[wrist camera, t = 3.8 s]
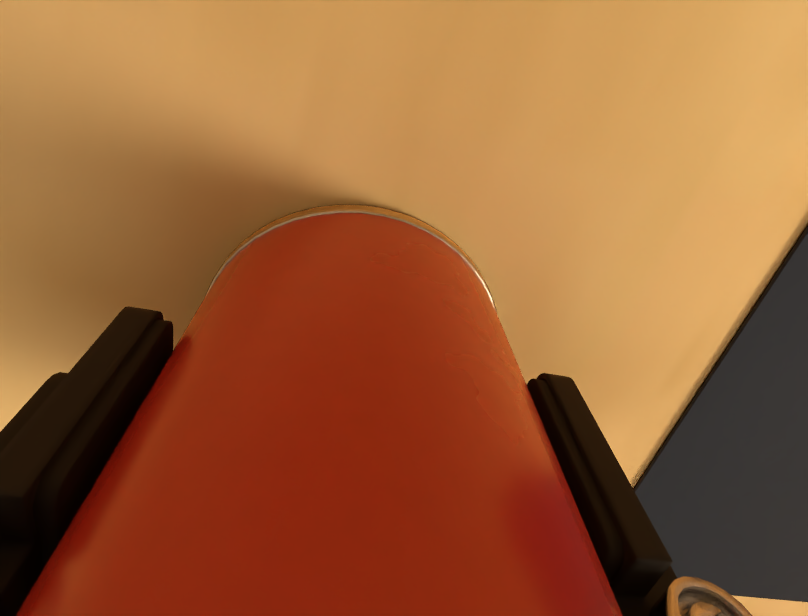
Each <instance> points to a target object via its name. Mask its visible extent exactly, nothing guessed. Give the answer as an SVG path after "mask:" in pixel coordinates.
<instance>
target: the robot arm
mask: <svg viewBox="0 0 808 616" xmlns="http://www.w3.org/2000/svg"><path fill="white" fill-rule="evenodd" d="M172 352H173V324H172V322H171V321H165V320H163V315H162V313H161V312H159V311H153V310H147V309H141V308H134V307H125V308H124V309H123V310H122V311H121V312H120V313H119V314H118V316H117V317H116V318H115V319H114V320H113V321H112V323H111V324H110V325H109V326H108V327H107V328H106V330H105V331H104V332H103V333H102V334H101V335H100V337H99V338H98V339H97V340H96V341H95V342H94V344H93V345H92V346H91V347H90V348H89V350H88V351H87V352H86V353H85V354H84V355H83V357H82V358H81V359H80V360H79V361H78V362H77V364H76V365H75V366H74V367H73V368H72V369H71V371H70V372H69V373H62V372H59V373H56V374H54V375H52V376H51V377H50V378H49V379H48V380H47V381H46V382H45V383H44V384H43V385H42V386H41V387H40V388H39V390H38V391H37V392H36V393H35V394H34V395H33V396H32V397H31V399H30V400H29V401H28V402H27V403H26V404H25V405H24V406H23V407H22V409H21V410H20V411H19V412H18V413H17V414H16V415H15V416H14V417H13V419H12V420H11V421H10V422H9V423H8V424H7V425H6V426H5V428H4V429H3V430H2V431H1V432H0V616H16V614H17V613H18V611H19V609H20V607H21V606H22V604H23V602H24V601H25V599H26V597H27V596H28V594H29V592H30V591H31V589H32V587H33V586H34V584H35V582H36V581H37V579H38V577H39V576H40V574H41V572H42V571H43V569H44V567H45V566H46V564H47V562H48V560H49V559H50V557H51V555H52V554H53V552H54V550H55V549H56V547H57V545H58V544H59V542H60V540H61V539H62V537H63V535H64V534H65V532H66V530H67V529H68V527H69V525H70V524H71V522H72V520H73V518H74V517H75V515H76V513H77V512H78V510H79V508H80V507H81V505H82V503H83V502H84V500H85V498H86V497H87V495H88V493H89V492H90V490H91V488H92V487H93V485H94V483H95V482H96V480H97V478H98V477H99V475H100V473H101V471H102V470H103V468H104V466H105V465H106V463H107V461H108V460H109V458H110V456H111V455H112V453H113V451H114V450H115V448H116V446H117V445H118V443H119V441H120V440H121V438H122V436H123V435H124V433H125V431H126V430H127V428H128V426H129V424H130V423H131V421H132V419H133V418H134V416H135V414H136V413H137V411H138V409H139V408H140V406H141V404H142V403H143V401H144V399H145V398H146V396H147V394H148V393H149V391H150V389H151V388H152V386H153V384H154V383H155V381H156V379H157V377H158V376H159V374H160V372H161V371H162V369H163V367H164V366H165V364H166V362H167V361H168V359H169V357H170V356H171V354H172ZM527 388H528V390H529V393H530V395H531V397H532V400H533V402H534V405H535V407H536V409H537V412H538V414H539V417H540V419H541V421H542V424H543V426H544V428H545V431H546V433H547V436H548V438H549V440H550V443H551V445H552V448H553V450H554V452H555V455H556V457H557V460H558V462H559V464H560V467H561V469H562V472H563V474H564V476H565V479H566V481H567V484H568V486H569V488H570V491H571V493H572V496H573V498H574V500H575V503H576V505H577V508H578V510H579V512H580V515H581V517H582V520H583V522H584V524H585V527H586V529H587V532H588V534H589V536H590V539H591V541H592V544H593V546H594V548H595V551H596V553H597V556H598V558H599V560H600V563H601V565H602V568H603V570H604V572H605V575H606V577H607V579H608V582H609V584H610V587H611V589H612V591H613V594H614V596H615V599H616V601H617V603H618V606H619V608H620V611H621V613H622V615H623V616H752V615H751V614H750V613H749V612H748V610H747V609H746V608H745V607H744V606H743V605H742V604H741V603H740V602H739V601H737V600H736V599H735V598H734V597H733V596H731V595H730V594H729V593H728V592H726V591H725V590H723V589H721V588H720V587H718V586H716V585H715V584H713V583H711V582H708V581H706V580H703V579H700V578H697V577H686V576H684V577H681V578H678V579H677V577H676V575H675V573H674V571H673V569H672V567H671V566H670V565H671V564H672V563H673V561H672V559H671V557H670V555H669V554H668V552H667V550H666V548H665V546H664V545H663V543H662V541H661V539H660V537H659V535H658V534H657V532H656V530H655V528H654V526H653V525H652V523H651V521H650V519H649V517H648V515H647V514H646V512H645V510H644V508H643V506H642V505H641V503H640V501H639V499H638V497H637V495H636V494H635V492H634V490H633V488H632V486H631V485H630V483H629V481H628V479H627V477H626V475H625V474H624V472H623V470H622V468H621V466H620V465H619V463H618V461H617V459H616V457H615V455H614V454H613V452H612V450H611V448H610V446H609V445H608V443H607V441H606V439H605V437H604V435H603V434H602V432H601V430H600V428H599V426H598V425H597V423H596V421H595V419H594V417H593V415H592V414H591V412H590V410H589V408H588V406H587V405H586V403H585V401H584V399H583V397H582V396H581V394H580V392H579V390H578V388H577V386H576V385H575V383H574V381H573V380H572V379H571V378H569V377H565V376H559V375H553V374H546V373H542V374H540V375H539V376H538V378H537V379H531V380H530V381H529V382H528V384H527Z"/></svg>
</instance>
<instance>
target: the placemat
mask: <svg viewBox="0 0 808 616" xmlns="http://www.w3.org/2000/svg"><path fill="white" fill-rule="evenodd" d="M634 492H635V494H636V495H637V497H638V499H639V501H640V503H641V505H642V506H643V508H644V510H645V512H646V514H647V515H648V517H649V519H650V521H651V523H652V525H653V526H654V528H655V530H656V532H657V534H658V535H659V537H660V539H661V541H662V543H663V545H664V546H665V548H666V550H667V552H668V554H669V555H670V557H671V559H672V561H673V563H672V564H671V565H670V566H671V567H672V569H673V571H674V573H675V575H676V577H677V579H678V578H681V577H684V576H686V577H697V578H700V579H703V580H706V581H708V582H711V583H713V584H715V585H716V586H718V587H720V588H721V589H723V590H725V591H726V592H728V593H729V594H730V595H735V596H746V597H757V598H768V599H780V600H791V601H802V602H808V226H807V228H806V229H805V231H804V232H803V234H802V235H801V237H800V238H799V240H798V241H797V243H796V244H795V246H794V247H793V249H792V250H791V252H790V254H789V255H788V257H787V258H786V260H785V261H784V263H783V264H782V266H781V267H780V269H779V270H778V272H777V273H776V275H775V276H774V278H773V279H772V281H771V282H770V284H769V285H768V287H767V288H766V290H765V291H764V293H763V294H762V296H761V297H760V299H759V300H758V302H757V303H756V305H755V307H754V308H753V310H752V311H751V313H750V314H749V316H748V317H747V319H746V320H745V322H744V323H743V325H742V326H741V328H740V329H739V331H738V332H737V334H736V335H735V337H734V338H733V340H732V341H731V343H730V344H729V346H728V347H727V349H726V350H725V352H724V353H723V355H722V356H721V358H720V360H719V361H718V363H717V364H716V366H715V367H714V369H713V370H712V372H711V373H710V375H709V376H708V378H707V379H706V381H705V382H704V384H703V385H702V387H701V388H700V390H699V391H698V393H697V394H696V396H695V397H694V399H693V400H692V402H691V403H690V405H689V406H688V408H687V409H686V411H685V412H684V414H683V416H682V417H681V419H680V420H679V422H678V423H677V425H676V426H675V428H674V429H673V431H672V432H671V434H670V435H669V437H668V438H667V440H666V441H665V443H664V444H663V446H662V447H661V449H660V450H659V452H658V453H657V455H656V456H655V458H654V459H653V461H652V462H651V464H650V465H649V467H648V469H647V470H646V472H645V473H644V475H643V476H642V478H641V479H640V481H639V482H638V484H637V485H636V487H635V488H634Z"/></svg>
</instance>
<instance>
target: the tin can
mask: <svg viewBox="0 0 808 616" xmlns="http://www.w3.org/2000/svg"><path fill="white" fill-rule="evenodd" d="M16 616H623V615H622V613H621V611H620V608H619V606H618V603H617V601H616V599H615V596H614V594H613V591H612V589H611V587H610V584H609V582H608V579H607V577H606V575H605V572H604V570H603V568H602V565H601V563H600V560H599V558H598V556H597V553H596V551H595V548H594V546H593V544H592V541H591V539H590V536H589V534H588V532H587V529H586V527H585V524H584V522H583V520H582V517H581V515H580V512H579V510H578V508H577V505H576V503H575V500H574V498H573V496H572V493H571V491H570V488H569V486H568V484H567V481H566V479H565V476H564V474H563V472H562V469H561V467H560V464H559V462H558V460H557V457H556V455H555V452H554V450H553V448H552V445H551V443H550V440H549V438H548V436H547V433H546V431H545V428H544V426H543V424H542V421H541V419H540V417H539V414H538V412H537V409H536V407H535V405H534V402H533V400H532V397H531V395H530V393H529V390H528V388H527V385H526V383H525V381H524V378H523V376H522V373H521V371H520V369H519V366H518V364H517V361H516V359H515V357H514V354H513V352H512V349H511V347H510V345H509V342H508V340H507V337H506V335H505V333H504V330H503V328H502V325H501V323H500V321H499V318H498V316H497V311H496V308H495V305H494V302H493V299H492V295H491V293H490V291H489V288H488V286H487V284H486V282H485V280H484V279H483V277H482V275H481V273H480V271H479V270H478V269H477V267H476V266H475V264H474V263H473V262H472V260H471V259H470V258H469V257H468V256H467V254H466V253H465V252H464V251H463V250H462V249H461V248H460V247H459V246H458V245H457V244H456V243H454V242H453V241H452V240H450V239H449V238H448V237H447V236H445V235H444V234H443V233H441V232H440V231H438V230H436V229H435V228H433V227H431V226H430V225H428V224H426V223H424V222H422V221H420V220H418V219H415V218H413V217H410V216H408V215H406V214H403V213H399V212H395V211H392V210H388V209H384V208H379V207H372V206H365V205H331V206H322V207H315V208H311V209H307V210H303V211H299V212H295V213H293V214H290V215H288V216H285V217H282V218H280V219H277V220H275V221H273V222H271V223H270V224H268V225H266V226H264V227H263V228H261V229H259V230H257V231H256V232H255V233H253V234H252V235H251V236H249V237H248V238H247V239H246V240H244V241H243V242H242V243H241V244H240V245H239V246H238V247H237V248H236V249H235V250H234V251H233V252H232V253H231V254H230V255H229V256H228V258H227V259H226V260H225V262H224V263H223V265H222V266H221V267H220V269H219V270H218V272H217V273H216V275H215V277H214V279H213V281H212V283H211V285H210V287H209V289H208V291H207V293H206V296H205V299H204V300H203V302H202V304H201V305H200V307H199V309H198V310H197V312H196V314H195V315H194V317H193V319H192V320H191V322H190V324H189V325H188V327H187V329H186V330H185V332H184V334H183V336H182V337H181V339H180V341H179V342H178V344H177V346H176V347H175V349H174V351H173V352H172V354H171V356H170V357H169V359H168V361H167V362H166V364H165V366H164V367H163V369H162V371H161V372H160V374H159V376H158V377H157V379H156V381H155V383H154V384H153V386H152V388H151V389H150V391H149V393H148V394H147V396H146V398H145V399H144V401H143V403H142V404H141V406H140V408H139V409H138V411H137V413H136V414H135V416H134V418H133V419H132V421H131V423H130V424H129V426H128V428H127V430H126V431H125V433H124V435H123V436H122V438H121V440H120V441H119V443H118V445H117V446H116V448H115V450H114V451H113V453H112V455H111V456H110V458H109V460H108V461H107V463H106V465H105V466H104V468H103V470H102V471H101V473H100V475H99V477H98V478H97V480H96V482H95V483H94V485H93V487H92V488H91V490H90V492H89V493H88V495H87V497H86V498H85V500H84V502H83V503H82V505H81V507H80V508H79V510H78V512H77V513H76V515H75V517H74V518H73V520H72V522H71V524H70V525H69V527H68V529H67V530H66V532H65V534H64V535H63V537H62V539H61V540H60V542H59V544H58V545H57V547H56V549H55V550H54V552H53V554H52V555H51V557H50V559H49V560H48V562H47V564H46V566H45V567H44V569H43V571H42V572H41V574H40V576H39V577H38V579H37V581H36V582H35V584H34V586H33V587H32V589H31V591H30V592H29V594H28V596H27V597H26V599H25V601H24V602H23V604H22V606H21V607H20V609H19V611H18V613H17V614H16Z"/></svg>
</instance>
